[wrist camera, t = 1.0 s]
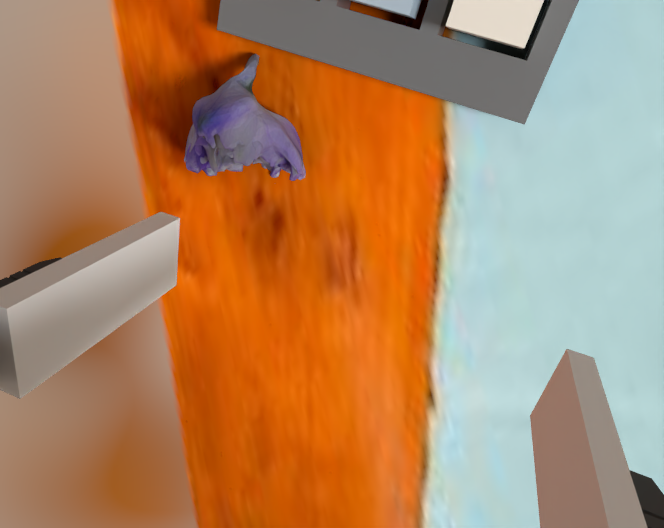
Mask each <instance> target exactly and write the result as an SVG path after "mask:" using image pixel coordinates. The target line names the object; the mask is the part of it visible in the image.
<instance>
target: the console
mask: <svg viewBox="0 0 664 528" xmlns="http://www.w3.org/2000/svg"><path fill="white" fill-rule="evenodd" d="M578 1H579V0H549V1H548V3H547V5H546V8H545V10H544V13H543V15H542V18H541V20H540V22H539V25H538V27H537V30H536V32H535V35H534V37H533V39H532V42H531V44H530V47H529V49H528V52H527V54H526V56H525V59H524V60H523V59H519V58H516V57H512V56H509V55H505V54H502V53H498V52H495V51H491V50H488V49H484V48H481V47H477V46H474V45H470V44H467V43H463V42H460V41H456V40H453V39H449V38H446V37H442V35H443V32H444V29H445V26H446V23H447V20H448V17H449V14H450V11H451V8H452V5H453V2H454V0H429V1H428V4H427V8H426V11H425V14H424V17H423V21H422V24H421V27H420V30H418V29H414V28H411V27H407V26H404V25H400V24H397V23H393V22H390V21H386V20H383V19H379V18H376V17H372V16H369V15H365V14H362V13H358V12H355V11H351V10H349V8H350V4H351V1H349V0H320V1H316V0H221V1H220V9H219V17H218V25H217V30H220V31H223V32H226V33H229V34H233V35H236V36H239V37H242V38H246V39H249V40H252V41H255V42H259V43H262V44H265V45H268V46H272V47H275V48H278V49H281V50H285V51H288V52H291V53H294V54H298V55H301V56H304V57H307V58H311V59H314V60H317V61H320V62H324V63H327V64H330V65H333V66H337V67H340V68H343V69H346V70H350V71H353V72H356V73H359V74H363V75H366V76H369V77H372V78H376V79H379V80H382V81H385V82H388V83H392V84H395V85H398V86H401V87H405V88H408V89H411V90H414V91H418V92H421V93H424V94H427V95H431V96H434V97H437V98H440V99H444V100H447V101H450V102H453V103H457V104H460V105H463V106H466V107H470V108H473V109H476V110H479V111H483V112H486V113H489V114H492V115H496V116H499V117H502V118H505V119H509V120H512V121H515V122H518V123H522V124H525V122H526V120H527V118H528V115H529V113H530V111H531V108H532V106H533V104H534V102H535V99H536V97H537V95H538V92H539V90H540V88H541V86H542V83H543V81H544V79H545V76H546V74H547V72H548V70H549V67H550V65H551V63H552V60H553V58H554V56H555V54H556V51H557V49H558V47H559V44H560V42H561V40H562V38H563V35H564V33H565V31H566V28H567V26H568V24H569V22H570V19H571V17H572V15H573V13H574V10H575V8H576V6H577V3H578Z"/></svg>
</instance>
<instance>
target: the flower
mask: <svg viewBox="0 0 664 528" xmlns="http://www.w3.org/2000/svg"><path fill="white" fill-rule="evenodd" d="M258 63H259V56H258V55H256V54H253V55H252V56H251V57H250V58H249V60H248V62H247V64H246V66H245V68H244V70H243V71H242V72H241V73H240V74H238V75H236V76H234V77H231V78H230V79H229V80H228V81H227V82H225V83H224V84H223V85H222V86H220V87H219V89H218V90H217V91H216V92H215V93H213V94H211V95H208V96H205V97H202V98H201V99H199V100H197V102H196V103H195V105H194V107H193V115H192V120H193V125H192V127H191V129H190V132H189V135H188V139H187V144H186V152H185V158H184V162H185V161H186V167H187V169H188V170H190V171H193V172H196V173H199V172H200V170H203V171H204V172H205V173H206V174H207V175H208V176H213V175H217V172H219V171H225V170H226V169H227V170H230V171H243V165H245V166H249V165H250V164H251V163H252V162H253V164H256V163H261V164H262V167H263V168H265V169H266V168H267V169H268V170H270V171H271V174H270V176H271V177H274V178H275V177H278V176H279V173H280V170H281V169H283V170H285V171H287V172H288V173H290V180H292V181H294V180H296V179H297V178H298V179H299V180H301V179H303V178H305V174H306V171H305V167H304V164H303V157H302V150H301V145H300V139H299V136H298V134H297V132H296V130H295V128H294V126H293V125H292V124H291V123H290V122H289V121H288V120H287V119H286V118H284V117H282V116H280V115H278V114H276V113H273V112H271V111H269V110H267V109H265V108H264V107H263V106H261V105H260V104H259V103H258V102H257V100H256V98H255V96H254V94H253V92H252V83H253V81H254V79H255V76H256V67H257V65H258Z"/></svg>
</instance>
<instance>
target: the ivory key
mask: <svg viewBox="0 0 664 528" xmlns="http://www.w3.org/2000/svg"><path fill="white" fill-rule="evenodd" d="M543 2H544V0H454V2H453V5H452V8H451V11H450V14H449V17H448V20H447V23H446V27H448V28H449V29H452V30H455V31H459V32H462V33H466V34H469V35H473V36H476V37H480V38H483V39H487V40H490V41H494V42H498V43H501V44H505V45H508V46H512V47H515V48H519V49H524V48H525V46H526V43H527V41H528V39H529V36H530V34H531V31H532V29H533V26H534V24H535V21H536V19H537V16H538V14H539V12H540V9H541V7H542V4H543Z"/></svg>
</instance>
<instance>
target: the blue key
mask: <svg viewBox="0 0 664 528" xmlns="http://www.w3.org/2000/svg"><path fill="white" fill-rule="evenodd" d="M349 1H352V2H356V3H360V4H363V5H367V6H370V7H374V8H377V9H381V10H384V11H388V12H391V13H395V14H398V15H402V16H406V17H409V18H413V19H416V17H417V14H418V10H419V7H420V4H421V0H349Z"/></svg>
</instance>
